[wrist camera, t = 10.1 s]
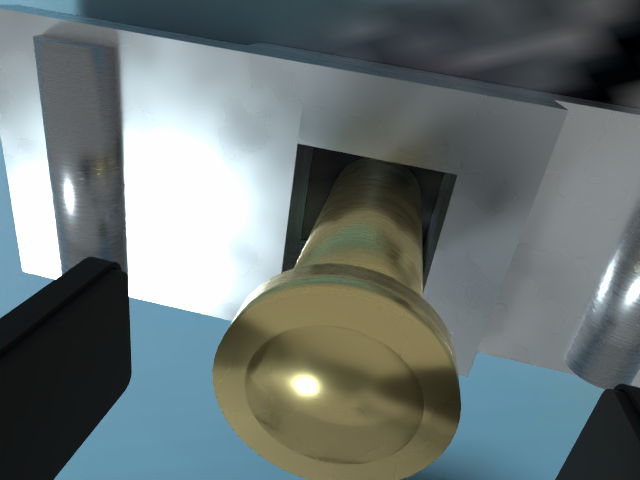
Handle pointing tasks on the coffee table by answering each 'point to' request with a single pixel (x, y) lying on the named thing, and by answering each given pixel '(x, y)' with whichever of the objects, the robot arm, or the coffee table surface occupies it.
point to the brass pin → (346, 344)
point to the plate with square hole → (293, 176)
